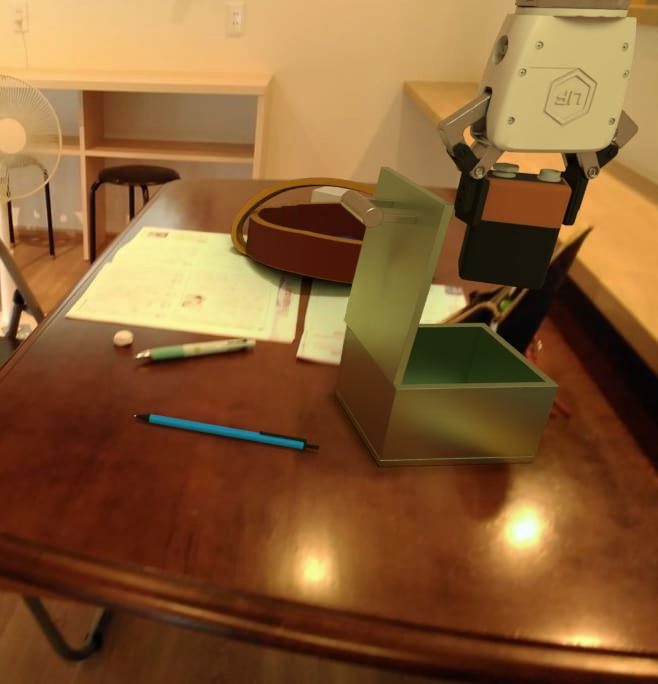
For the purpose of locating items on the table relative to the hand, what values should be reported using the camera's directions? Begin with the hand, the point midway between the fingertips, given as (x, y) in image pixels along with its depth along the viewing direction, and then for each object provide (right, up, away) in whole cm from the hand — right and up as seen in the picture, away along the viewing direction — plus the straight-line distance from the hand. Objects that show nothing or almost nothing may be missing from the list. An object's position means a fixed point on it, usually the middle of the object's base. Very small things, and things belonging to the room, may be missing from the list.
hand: (513, 220), depth 60 cm
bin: (-2, -19, +13) cm, 24 cm away
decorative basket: (-1, +2, +55) cm, 55 cm away
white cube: (+6, +14, +80) cm, 81 cm away
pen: (-24, -20, +11) cm, 33 cm away
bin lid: (-9, -4, +5) cm, 11 cm away
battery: (0, -5, +3) cm, 6 cm away
